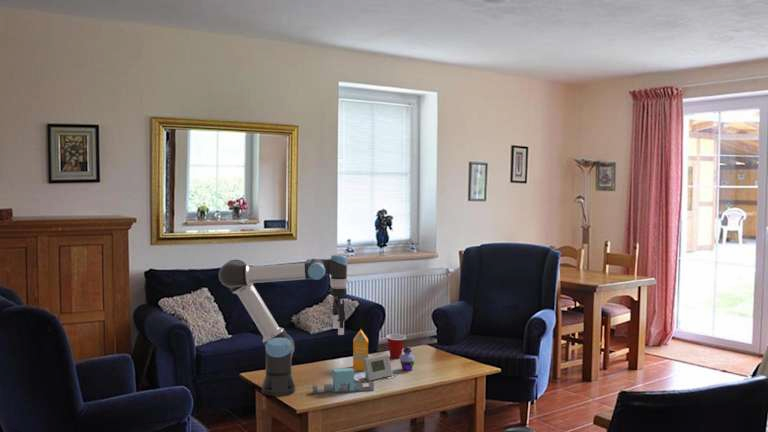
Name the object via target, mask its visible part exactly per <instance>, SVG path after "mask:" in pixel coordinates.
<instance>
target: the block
mask: <svg viewBox="0 0 768 432" xmlns="http://www.w3.org/2000/svg"><path fill="white" fill-rule="evenodd" d="M354 382H355V371H354V370H353V367H349V368H348V367H345V368H333V369H332V385H333V389H334V391H339V383H347V384H348V389H349V390H354Z"/></svg>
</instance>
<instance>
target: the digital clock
mask: <svg viewBox="0 0 768 432" xmlns="http://www.w3.org/2000/svg"><path fill="white" fill-rule="evenodd" d="M363 361H364V366H365V371H364V372H365V378H366V377H367V378H366V380H367V381H368V382H369V381H376V380H375V379H378V380H380V379H379V378H382V379H384V378H383V377H386V378H388V377H391V376H393V369H392V365H391V359H390V354H388V353H384V354H377V355H373V356H368V358H365V359H364V360H363ZM387 376H388V377H387Z"/></svg>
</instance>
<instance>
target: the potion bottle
mask: <svg viewBox="0 0 768 432" xmlns="http://www.w3.org/2000/svg"><path fill="white" fill-rule="evenodd" d="M402 353H404V354H401V355H400V356H399V357H400V358H399V363H400V366H401V371H403V372H411V371H413V366H414V365H415V360H416V355H413V354H411V353H412V348H411V346H409V345H408V346H403V349H402Z"/></svg>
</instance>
